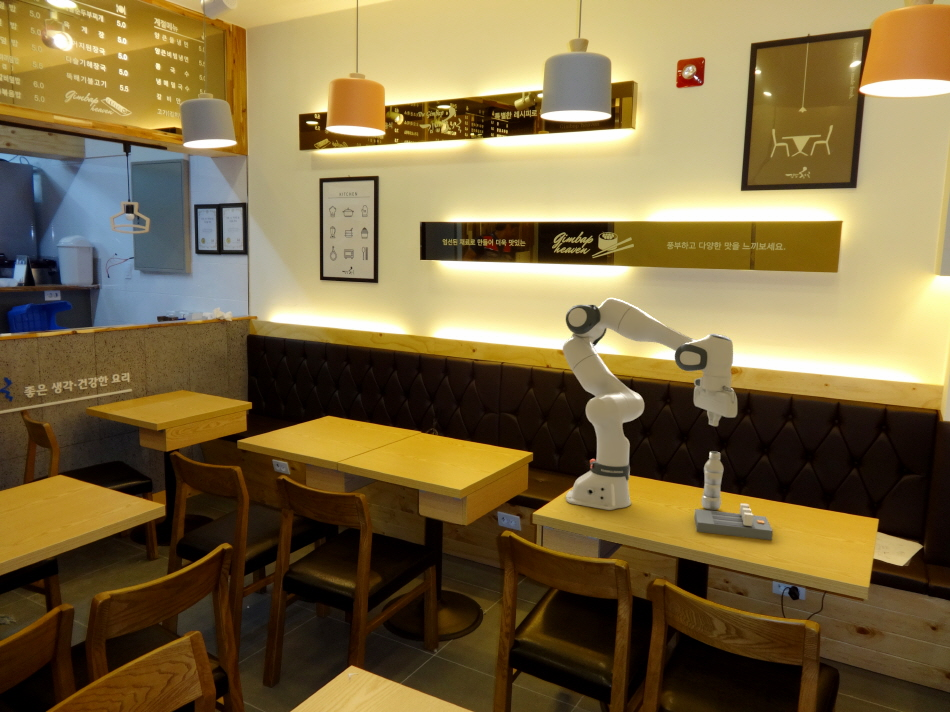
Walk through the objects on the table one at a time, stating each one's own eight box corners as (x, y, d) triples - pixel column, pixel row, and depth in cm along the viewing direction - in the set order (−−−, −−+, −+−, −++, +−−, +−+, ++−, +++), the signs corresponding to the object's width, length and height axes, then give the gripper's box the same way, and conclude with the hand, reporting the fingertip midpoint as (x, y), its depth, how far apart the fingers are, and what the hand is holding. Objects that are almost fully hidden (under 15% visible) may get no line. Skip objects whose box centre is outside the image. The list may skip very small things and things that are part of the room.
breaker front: (743, 525, 217) (744, 514, 216) (743, 523, 219) (744, 512, 218) (752, 526, 216) (753, 515, 216) (751, 523, 218) (752, 513, 218)
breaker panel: (696, 531, 219) (697, 521, 219) (694, 517, 232) (695, 507, 232) (771, 540, 214) (772, 529, 214) (765, 525, 227) (765, 515, 226)
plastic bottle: (717, 506, 244) (722, 450, 242) (722, 513, 238) (727, 455, 235) (698, 505, 245) (703, 449, 242) (703, 511, 238) (707, 454, 236)
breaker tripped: (742, 520, 221) (743, 509, 221) (741, 518, 223) (742, 507, 223) (750, 521, 221) (751, 510, 220) (749, 519, 222) (750, 508, 222)
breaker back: (740, 515, 225) (741, 505, 225) (739, 513, 227) (740, 503, 227) (748, 516, 225) (749, 506, 224) (747, 514, 227) (748, 504, 226)
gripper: (744, 389, 219) (740, 432, 221) (708, 379, 239) (705, 418, 241) (726, 389, 218) (723, 432, 219) (691, 379, 237) (688, 419, 239)
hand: (713, 425), depth 230 cm, fingers closed
